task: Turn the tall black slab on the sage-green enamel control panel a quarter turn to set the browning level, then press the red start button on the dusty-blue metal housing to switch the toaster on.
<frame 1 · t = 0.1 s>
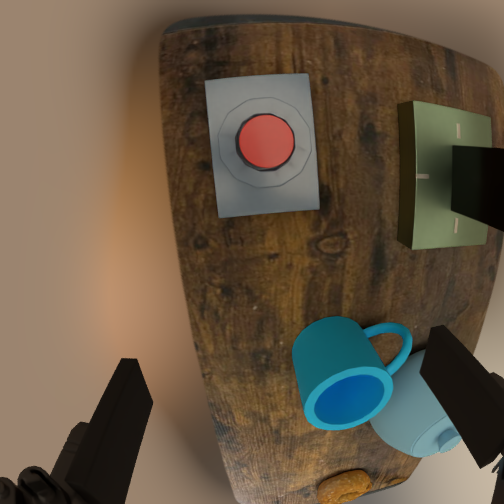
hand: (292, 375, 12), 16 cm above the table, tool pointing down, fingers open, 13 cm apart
sugar bowl: (414, 383, 33), on the table
start button: (265, 141, 20), point 4 cm above the table, slide at 0.1 cm
dial panel: (440, 175, 25), on the table
black slab: (491, 185, 18), point 8 cm above the table, hinge at 0.0°
bagel: (343, 480, 41), on the table
mug: (344, 339, 30), on the table
button housing: (262, 144, 24), on the table
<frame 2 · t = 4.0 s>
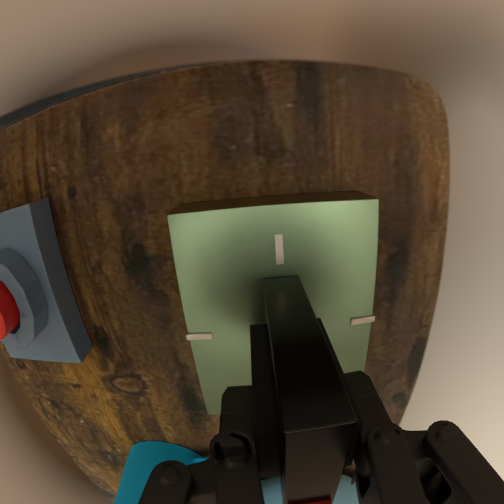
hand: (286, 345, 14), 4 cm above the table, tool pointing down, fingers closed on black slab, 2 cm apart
sugar bowl: (296, 491, 27), on the table
dial panel: (277, 302, 18), on the table
black slab: (295, 390, 11), point 8 cm above the table, hinge at -0.1°, touching gripper
mug: (182, 457, 24), on the table
button housing: (29, 281, 18), on the table
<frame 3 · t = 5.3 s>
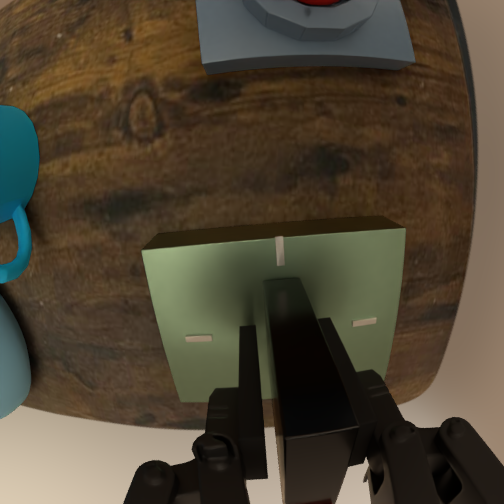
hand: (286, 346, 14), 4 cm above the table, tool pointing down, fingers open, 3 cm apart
dial panel: (277, 304, 18), on the table
black slab: (296, 393, 11), point 8 cm above the table, hinge at 89.9°
mug: (12, 183, 15), on the table
button housing: (298, 7, 13), on the table
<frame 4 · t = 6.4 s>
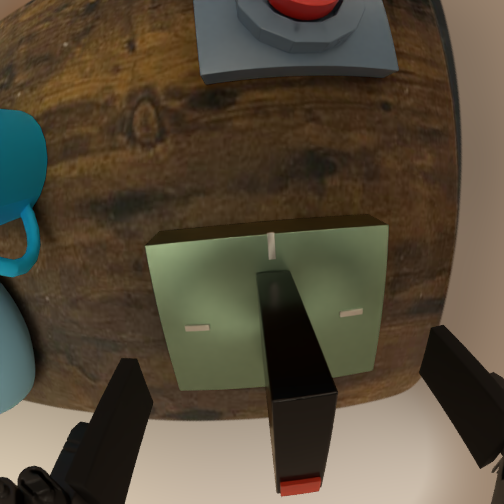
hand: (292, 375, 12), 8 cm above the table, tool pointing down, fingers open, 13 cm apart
dial panel: (270, 297, 20), on the table
black slab: (286, 375, 12), point 8 cm above the table, hinge at 89.9°
mug: (20, 184, 17), on the table
button housing: (290, 19, 14), on the table
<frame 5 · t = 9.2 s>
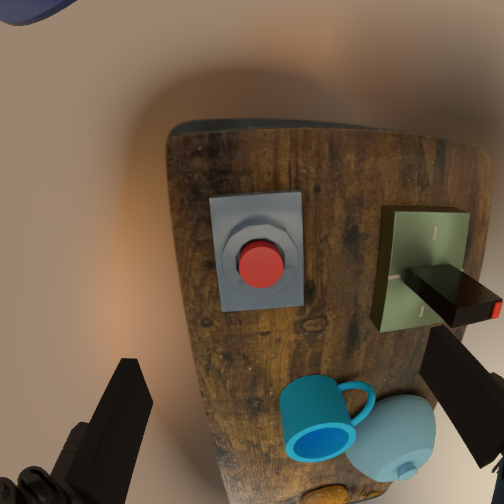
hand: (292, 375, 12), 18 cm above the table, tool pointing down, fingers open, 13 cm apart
sugar bowl: (384, 420, 39), on the table
start button: (260, 264, 25), point 4 cm above the table, slide at 0.1 cm
dial panel: (415, 263, 31), on the table
black slab: (452, 291, 23), point 8 cm above the table, hinge at 89.9°
bagel: (324, 492, 47), on the table
mug: (322, 390, 36), on the table
button housing: (258, 248, 30), on the table
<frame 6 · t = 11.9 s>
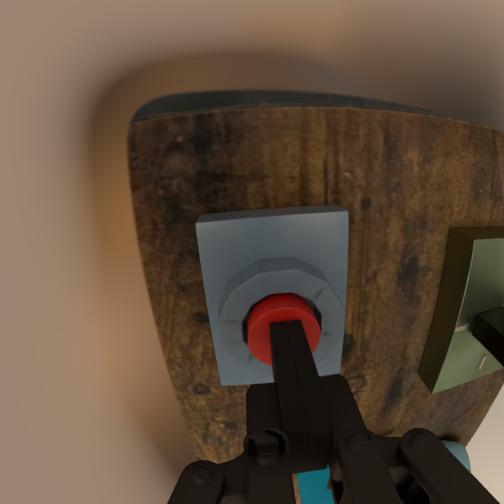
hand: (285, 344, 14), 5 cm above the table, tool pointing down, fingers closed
sugar bowl: (412, 466, 29), on the table
start button: (282, 330, 15), point 4 cm above the table, slide at -0.3 cm, touching gripper
dial panel: (477, 301, 20), on the table
mug: (349, 449, 26), on the table
button housing: (275, 294, 19), on the table
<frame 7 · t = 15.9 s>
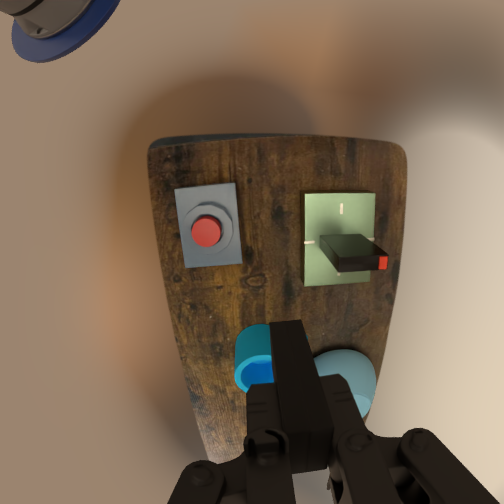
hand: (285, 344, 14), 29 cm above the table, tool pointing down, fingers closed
sugar bowl: (331, 375, 52), on the table
start button: (206, 231, 38), point 4 cm above the table, slide at 0.1 cm
dial panel: (334, 234, 43), on the table
black slab: (351, 251, 36), point 8 cm above the table, hinge at 89.9°
mug: (270, 338, 49), on the table
button housing: (210, 223, 42), on the table
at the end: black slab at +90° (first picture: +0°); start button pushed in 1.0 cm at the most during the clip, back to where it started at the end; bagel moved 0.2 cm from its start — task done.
